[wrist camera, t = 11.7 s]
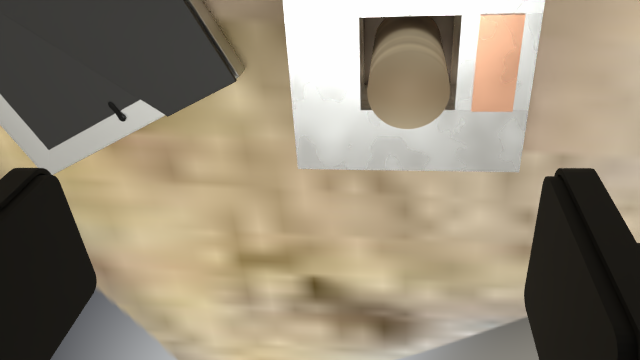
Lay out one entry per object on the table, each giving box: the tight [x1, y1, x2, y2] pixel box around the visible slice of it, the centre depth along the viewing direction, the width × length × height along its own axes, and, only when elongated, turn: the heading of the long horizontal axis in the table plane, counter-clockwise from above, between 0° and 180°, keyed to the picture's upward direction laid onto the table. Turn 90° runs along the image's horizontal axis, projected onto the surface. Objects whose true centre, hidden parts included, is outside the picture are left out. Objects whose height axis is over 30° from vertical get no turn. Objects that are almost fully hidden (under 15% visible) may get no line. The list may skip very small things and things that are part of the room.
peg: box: [367, 16, 450, 129], centre depth 27 cm, size 4×4×7 cm
